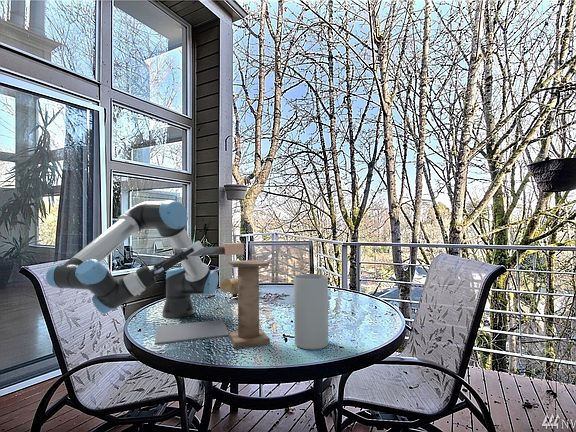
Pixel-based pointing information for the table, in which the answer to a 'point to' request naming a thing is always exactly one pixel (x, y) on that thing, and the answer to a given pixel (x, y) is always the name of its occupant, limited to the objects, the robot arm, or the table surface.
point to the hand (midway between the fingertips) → (200, 244)
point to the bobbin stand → (248, 305)
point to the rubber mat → (190, 331)
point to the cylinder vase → (311, 311)
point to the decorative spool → (230, 286)
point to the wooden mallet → (217, 250)
